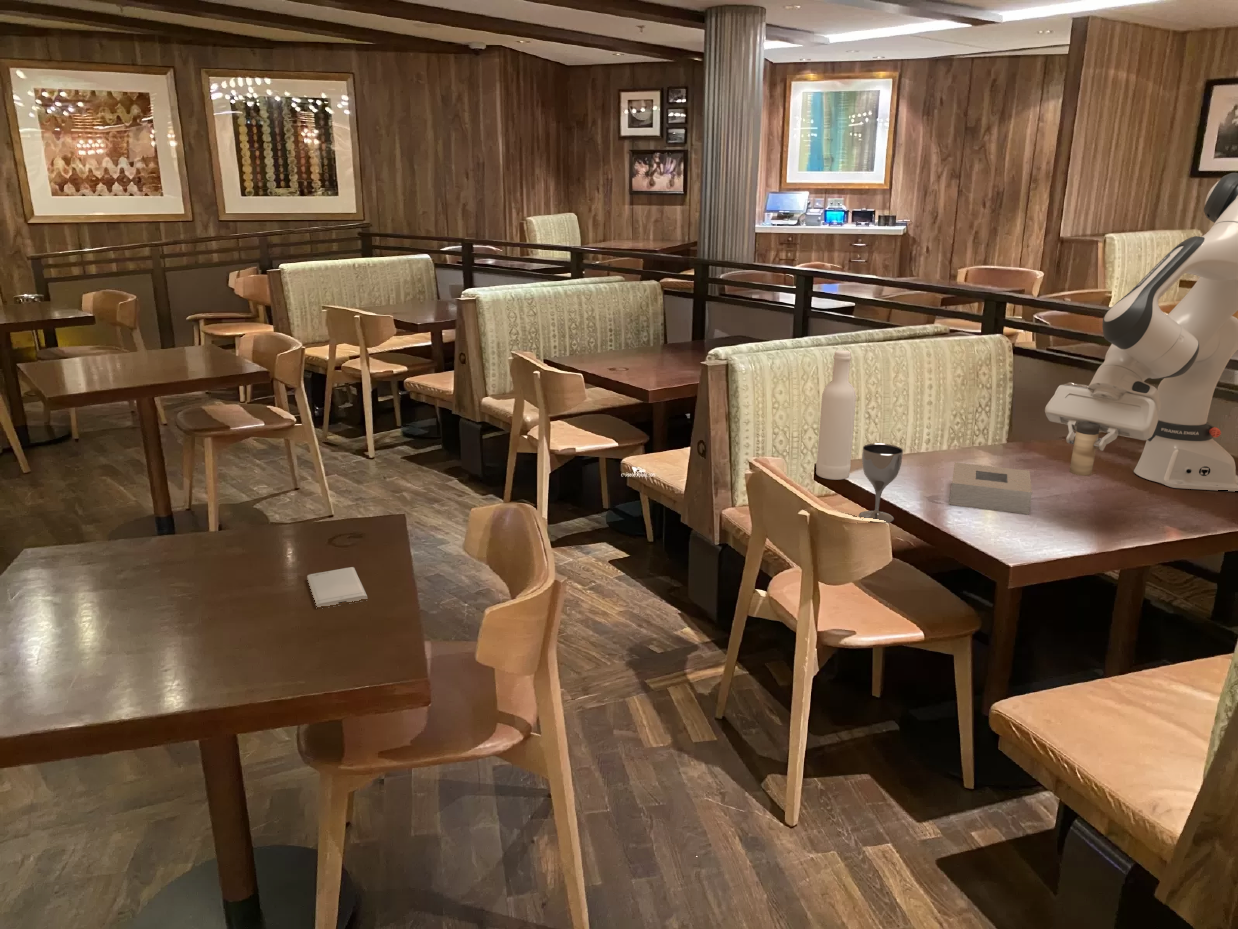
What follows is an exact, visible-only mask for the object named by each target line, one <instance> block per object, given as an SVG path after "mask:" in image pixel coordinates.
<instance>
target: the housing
mask: <svg viewBox="0 0 1238 929" xmlns="http://www.w3.org/2000/svg"><path fill="white" fill-rule="evenodd" d="M953 464H954V466H953V473H952V478H951V479H952V480H951V487H950V488H951V490H950V494H949V495H950V496H949V503H948V504H951V505H950V506H957V505H958V506H960V507H965V508H973V507H975V509H982V510H990V511H998V512H999V511H1000V512H1006V513H1015V514H1019V515H1020V514H1021V515H1029V514H1030V509H1031V504H1032V503H1031V501H1032V497H1033V496H1032V495H1033V489H1032V480H1031V473H1030V472H1031V471H1030V470H1027V469H1019V468H1016V469H1015V468H1010V467H1000V466H999V467H998V466H991V465H982V464H971V463H962V462H954V463H953Z"/></svg>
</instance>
